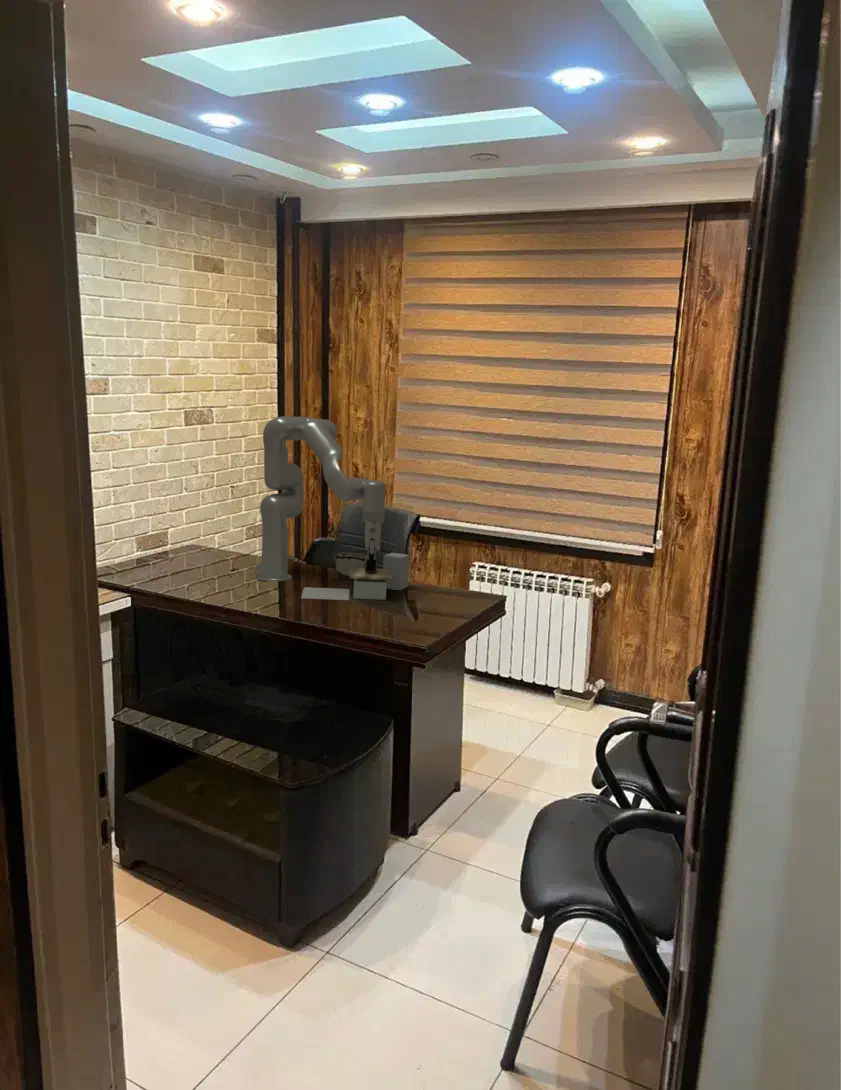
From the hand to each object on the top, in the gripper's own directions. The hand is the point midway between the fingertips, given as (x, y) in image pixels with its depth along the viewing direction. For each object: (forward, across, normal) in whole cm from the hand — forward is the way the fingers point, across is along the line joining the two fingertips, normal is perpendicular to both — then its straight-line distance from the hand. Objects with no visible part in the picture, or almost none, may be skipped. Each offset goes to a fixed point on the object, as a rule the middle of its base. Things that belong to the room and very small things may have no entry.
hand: (370, 568), depth 282 cm
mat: (+10, 0, +15) cm, 18 cm away
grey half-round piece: (+10, +26, +7) cm, 28 cm away
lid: (+2, 0, 0) cm, 2 cm away
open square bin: (+10, 0, 0) cm, 10 cm away
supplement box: (+10, +14, -10) cm, 20 cm away
